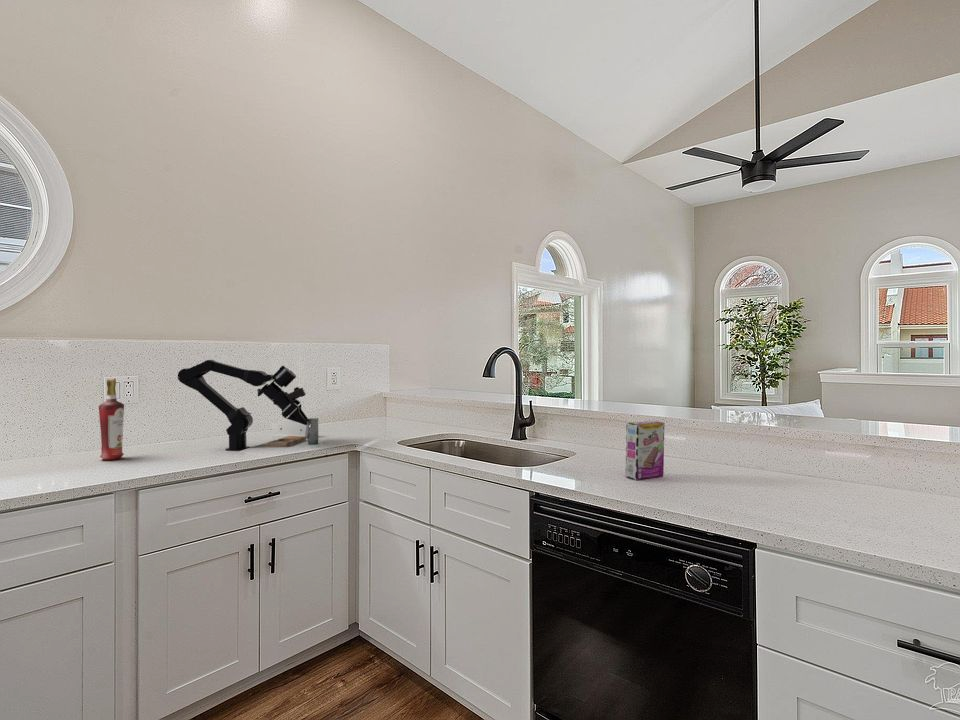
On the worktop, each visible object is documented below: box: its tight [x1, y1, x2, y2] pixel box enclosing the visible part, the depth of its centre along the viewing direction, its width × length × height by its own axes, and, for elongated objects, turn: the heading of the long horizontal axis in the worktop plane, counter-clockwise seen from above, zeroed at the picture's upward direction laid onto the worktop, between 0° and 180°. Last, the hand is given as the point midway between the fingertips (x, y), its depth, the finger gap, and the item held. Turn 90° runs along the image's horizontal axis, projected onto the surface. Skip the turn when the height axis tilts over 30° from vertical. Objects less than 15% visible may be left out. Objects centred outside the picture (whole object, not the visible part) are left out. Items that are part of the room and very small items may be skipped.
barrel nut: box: [307, 417, 319, 445], centre depth 209 cm, size 4×4×10 cm
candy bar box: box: [625, 420, 665, 481], centre depth 156 cm, size 11×5×16 cm, turn 118°
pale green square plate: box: [298, 441, 328, 447], centre depth 209 cm, size 8×8×1 cm
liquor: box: [98, 378, 125, 461], centre depth 184 cm, size 7×7×28 cm
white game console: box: [271, 418, 308, 440], centre depth 226 cm, size 17×5×10 cm, turn 70°
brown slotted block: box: [266, 436, 307, 448], centre depth 210 cm, size 16×8×3 cm, turn 171°
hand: (307, 422), depth 208 cm, fingers open, 9 cm apart
